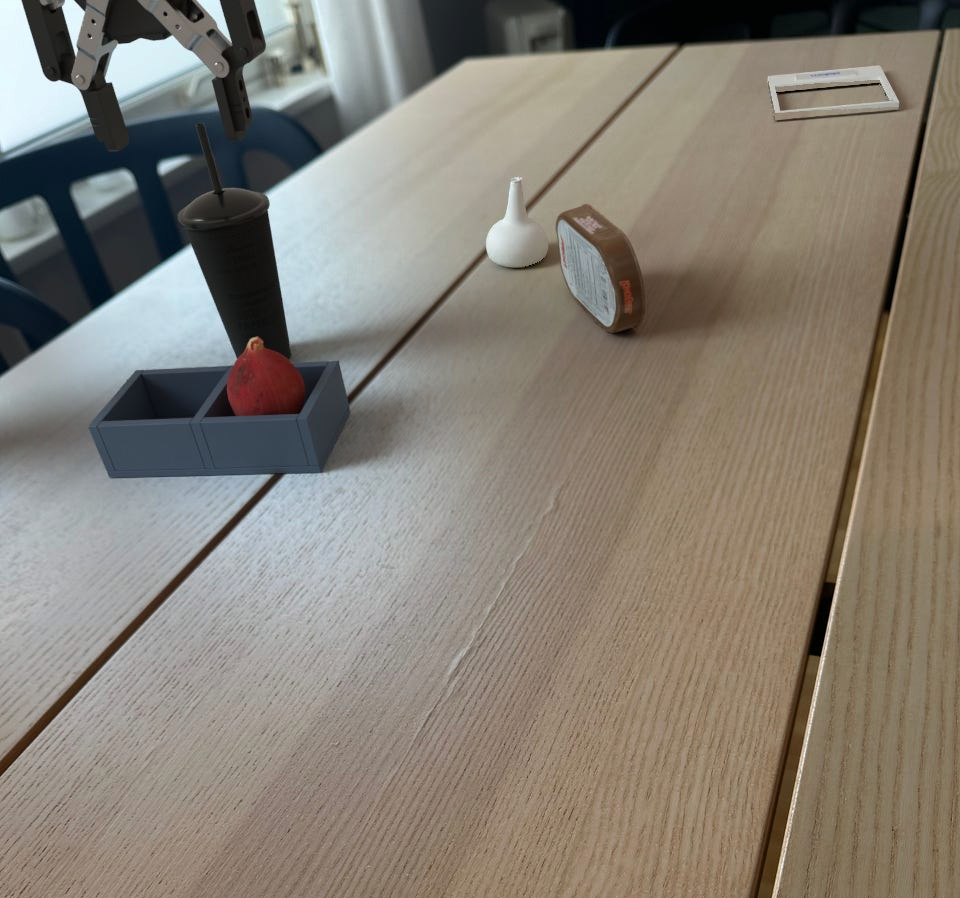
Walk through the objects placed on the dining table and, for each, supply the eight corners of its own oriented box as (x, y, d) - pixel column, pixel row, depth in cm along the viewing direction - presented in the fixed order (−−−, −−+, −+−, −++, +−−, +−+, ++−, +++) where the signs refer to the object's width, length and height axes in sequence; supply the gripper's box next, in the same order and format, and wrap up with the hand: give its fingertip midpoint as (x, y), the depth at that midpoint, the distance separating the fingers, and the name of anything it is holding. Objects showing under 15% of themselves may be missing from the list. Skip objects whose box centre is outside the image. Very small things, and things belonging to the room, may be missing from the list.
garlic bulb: (494, 249, 107) (485, 169, 101) (553, 246, 105) (547, 165, 100) (482, 273, 102) (472, 191, 97) (544, 271, 101) (537, 187, 95)
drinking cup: (283, 381, 89) (217, 137, 76) (209, 377, 92) (132, 141, 79) (320, 342, 94) (264, 108, 81) (249, 339, 97) (183, 112, 84)
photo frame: (880, 63, 137) (899, 100, 124) (878, 72, 138) (898, 110, 125) (768, 74, 140) (775, 111, 127) (767, 83, 141) (774, 120, 127)
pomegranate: (272, 461, 77) (243, 363, 72) (227, 440, 80) (197, 346, 75) (329, 427, 80) (305, 331, 75) (284, 409, 83) (258, 316, 78)
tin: (649, 342, 86) (647, 242, 81) (614, 350, 86) (610, 251, 80) (585, 281, 97) (580, 190, 92) (555, 289, 97) (548, 198, 91)
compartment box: (109, 478, 80) (87, 426, 77) (154, 419, 87) (135, 369, 84) (321, 472, 77) (306, 418, 74) (350, 412, 83) (338, 360, 80)
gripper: (231, -189, 58) (296, 119, 68) (9, -157, 61) (104, 134, 71) (182, -181, 52) (260, 153, 63) (-60, -146, 55) (54, 168, 66)
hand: (177, 143), depth 67 cm, fingers open, 8 cm apart
